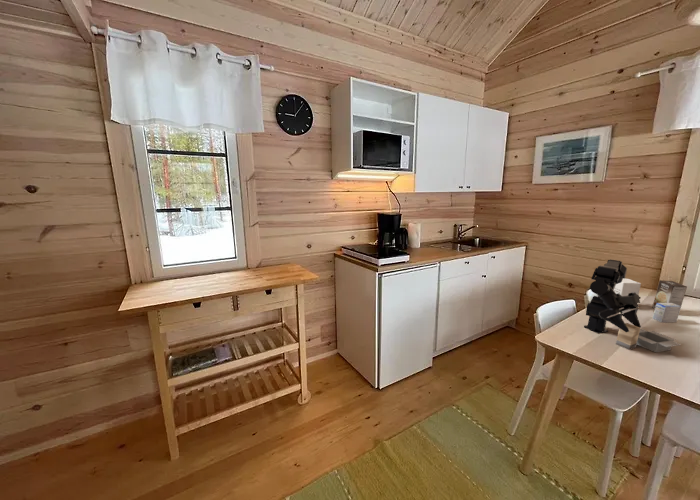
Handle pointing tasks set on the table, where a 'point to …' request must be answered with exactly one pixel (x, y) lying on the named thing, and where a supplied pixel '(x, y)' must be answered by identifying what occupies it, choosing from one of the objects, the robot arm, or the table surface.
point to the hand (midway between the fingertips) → (633, 329)
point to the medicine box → (666, 312)
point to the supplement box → (627, 287)
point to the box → (628, 337)
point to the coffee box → (669, 293)
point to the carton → (655, 341)
